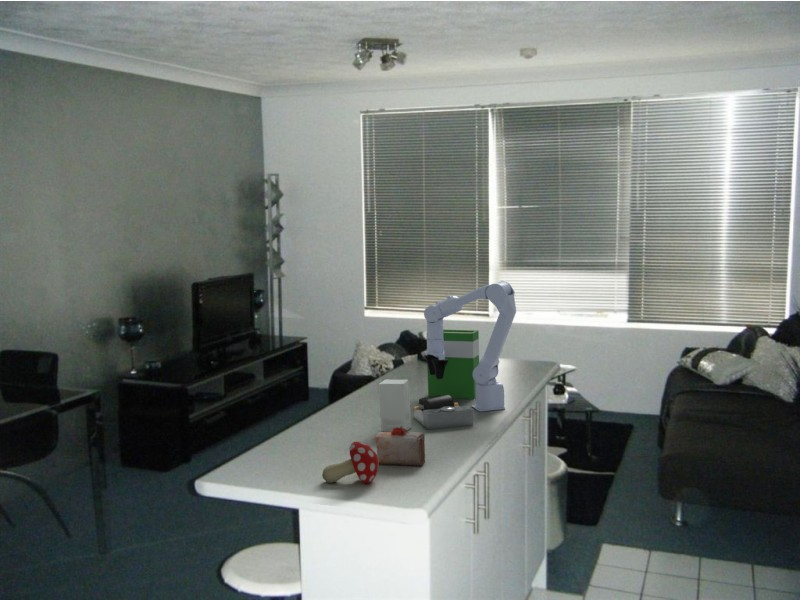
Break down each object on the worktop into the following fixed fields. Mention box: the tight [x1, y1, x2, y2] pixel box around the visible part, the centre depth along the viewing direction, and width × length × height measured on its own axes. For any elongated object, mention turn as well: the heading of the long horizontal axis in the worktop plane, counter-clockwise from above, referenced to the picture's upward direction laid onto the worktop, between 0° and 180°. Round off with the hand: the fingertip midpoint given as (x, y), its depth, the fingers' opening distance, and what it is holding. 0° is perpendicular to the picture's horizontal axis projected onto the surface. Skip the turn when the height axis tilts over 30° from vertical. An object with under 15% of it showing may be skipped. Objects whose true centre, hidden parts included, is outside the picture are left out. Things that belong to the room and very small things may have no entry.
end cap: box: [418, 395, 455, 412], centre depth 267 cm, size 10×7×7 cm
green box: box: [426, 328, 480, 400], centre depth 296 cm, size 18×7×24 cm, turn 69°
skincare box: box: [378, 378, 412, 432], centre depth 252 cm, size 8×7×16 cm
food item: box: [374, 425, 426, 467], centre depth 219 cm, size 14×8×10 cm, turn 77°
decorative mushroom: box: [321, 441, 379, 484], centre depth 204 cm, size 11×11×15 cm
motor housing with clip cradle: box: [413, 402, 474, 430], centre depth 261 cm, size 15×16×6 cm
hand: (436, 376), depth 283 cm, fingers open, 7 cm apart
